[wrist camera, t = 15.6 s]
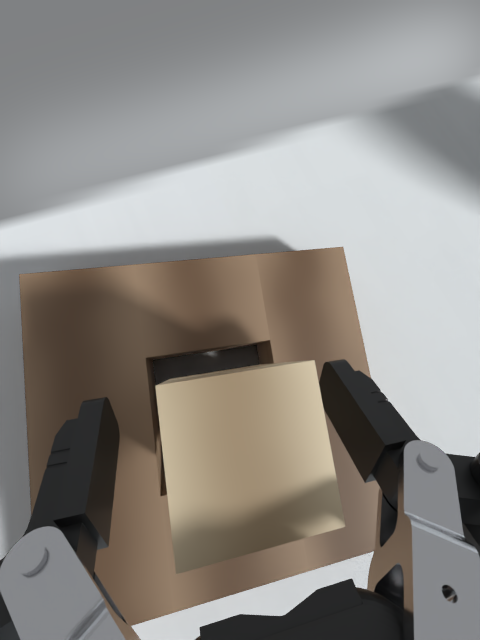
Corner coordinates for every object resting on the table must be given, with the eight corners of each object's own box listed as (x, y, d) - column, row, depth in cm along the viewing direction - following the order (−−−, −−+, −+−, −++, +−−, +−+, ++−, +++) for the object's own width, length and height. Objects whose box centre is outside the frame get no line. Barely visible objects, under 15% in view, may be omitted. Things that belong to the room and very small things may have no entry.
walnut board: (319, 265, 19) (342, 246, 16) (368, 512, 17) (405, 541, 14) (49, 291, 16) (19, 274, 13) (69, 595, 14) (38, 654, 11)
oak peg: (243, 365, 17) (314, 360, 8) (254, 436, 17) (345, 527, 7) (174, 376, 17) (155, 385, 7) (183, 451, 16) (175, 574, 6)
